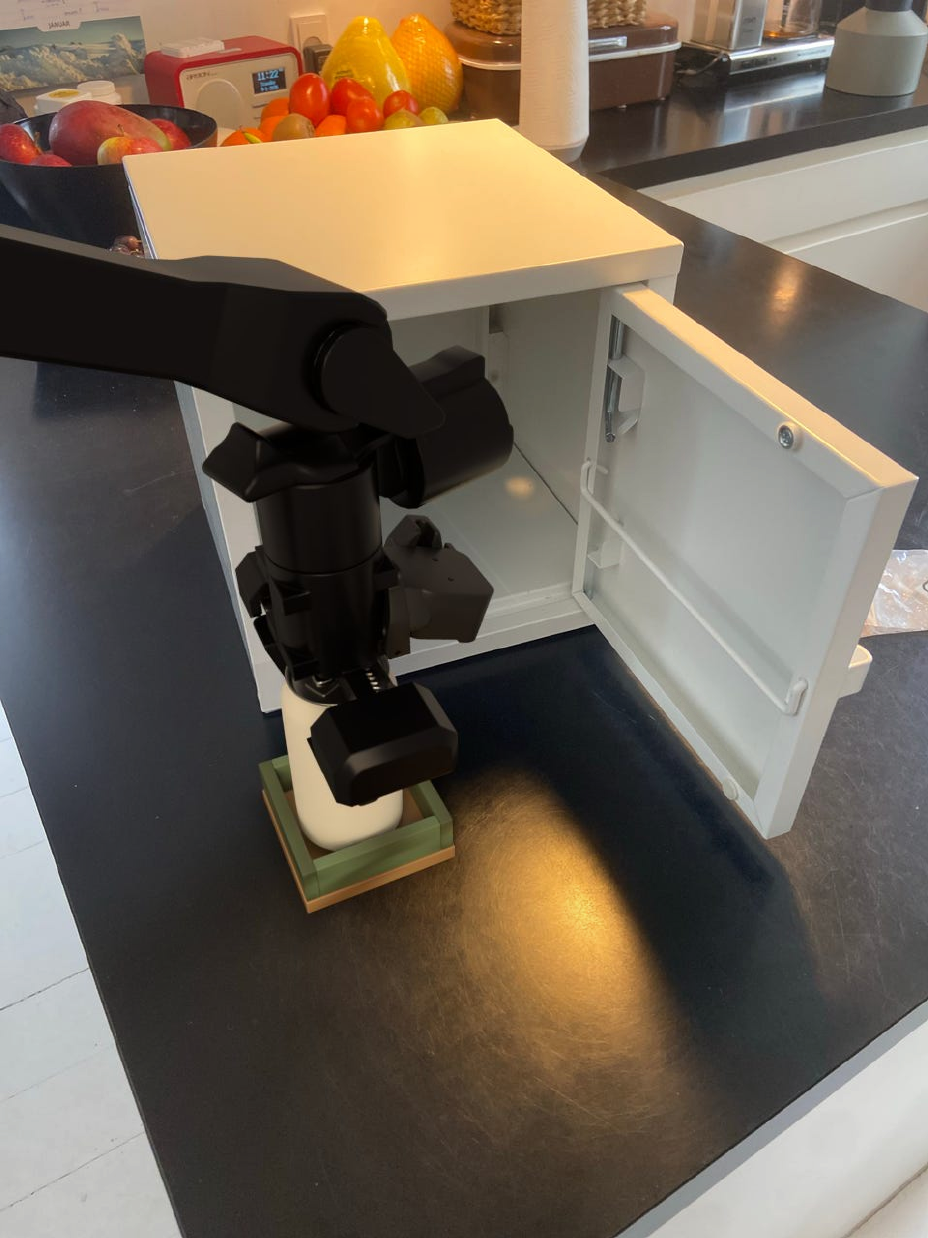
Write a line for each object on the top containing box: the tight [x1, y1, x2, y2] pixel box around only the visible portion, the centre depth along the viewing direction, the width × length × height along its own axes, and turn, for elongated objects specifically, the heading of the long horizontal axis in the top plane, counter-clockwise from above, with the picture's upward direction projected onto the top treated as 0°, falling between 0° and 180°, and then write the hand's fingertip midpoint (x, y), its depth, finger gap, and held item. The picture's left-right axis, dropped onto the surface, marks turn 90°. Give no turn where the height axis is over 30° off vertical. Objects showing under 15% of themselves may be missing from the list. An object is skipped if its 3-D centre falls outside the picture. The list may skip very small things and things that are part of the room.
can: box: [280, 655, 403, 851], centre depth 53 cm, size 6×6×12 cm
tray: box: [257, 754, 456, 914], centre depth 56 cm, size 9×9×4 cm
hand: (347, 762), depth 54 cm, fingers closed on can, 6 cm apart
